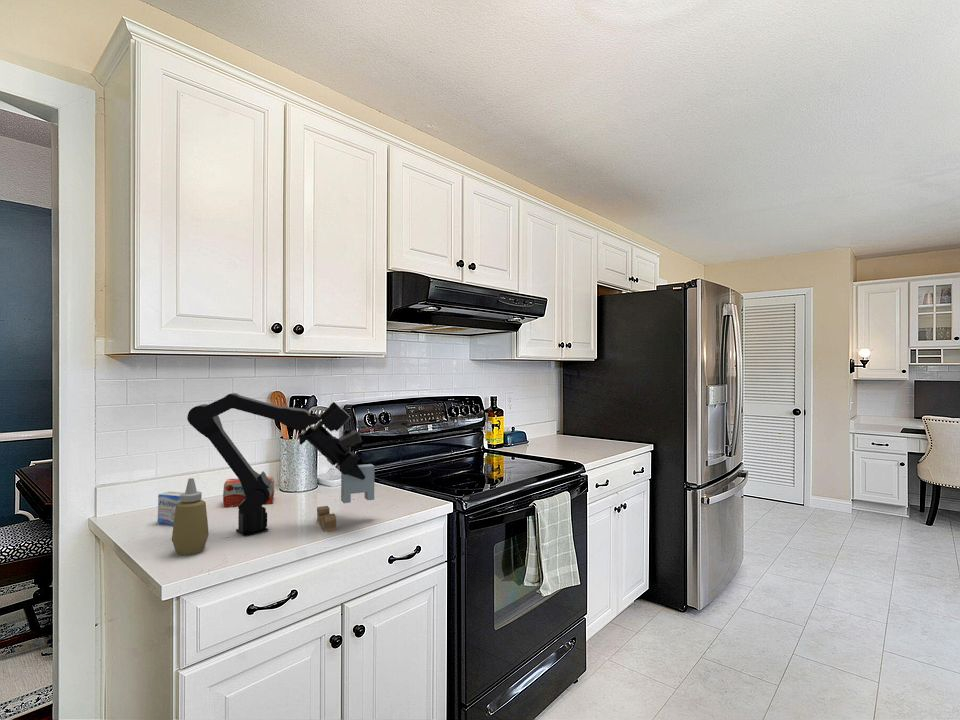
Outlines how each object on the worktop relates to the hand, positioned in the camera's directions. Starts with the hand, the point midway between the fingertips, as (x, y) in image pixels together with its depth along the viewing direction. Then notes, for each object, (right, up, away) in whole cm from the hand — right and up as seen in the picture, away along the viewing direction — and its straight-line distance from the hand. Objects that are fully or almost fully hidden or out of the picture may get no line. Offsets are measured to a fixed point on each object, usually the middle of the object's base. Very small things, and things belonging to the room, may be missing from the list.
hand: (362, 477), depth 154 cm
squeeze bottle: (-37, -13, -26) cm, 47 cm away
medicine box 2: (-42, -13, +19) cm, 48 cm away
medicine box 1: (-54, -13, -3) cm, 56 cm away
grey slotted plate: (-1, -7, -1) cm, 7 cm away
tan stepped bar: (-9, -13, -5) cm, 17 cm away
